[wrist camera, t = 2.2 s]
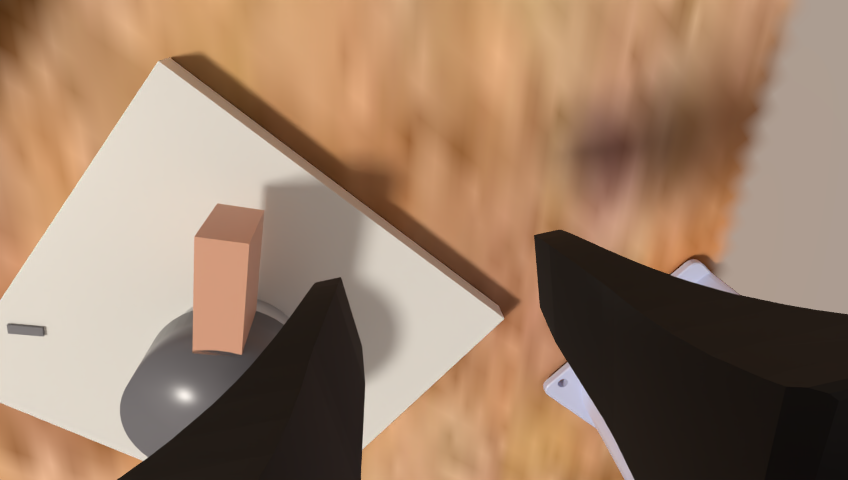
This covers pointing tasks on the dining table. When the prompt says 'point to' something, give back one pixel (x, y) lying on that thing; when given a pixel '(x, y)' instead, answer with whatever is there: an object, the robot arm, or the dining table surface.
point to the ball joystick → (203, 333)
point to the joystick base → (174, 265)
